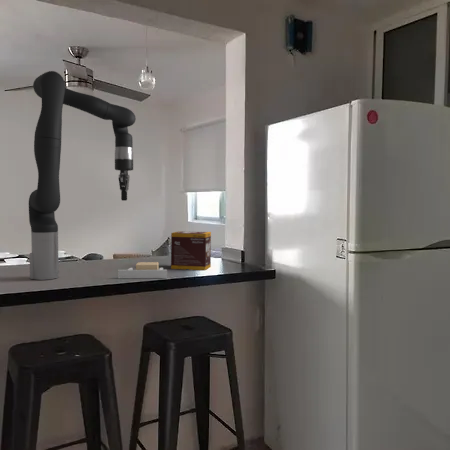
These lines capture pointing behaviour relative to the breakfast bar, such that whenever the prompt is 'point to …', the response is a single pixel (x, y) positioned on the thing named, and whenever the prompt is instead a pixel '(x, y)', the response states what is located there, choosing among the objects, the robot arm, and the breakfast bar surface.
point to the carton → (147, 266)
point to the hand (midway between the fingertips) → (124, 200)
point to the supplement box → (191, 250)
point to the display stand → (142, 273)
